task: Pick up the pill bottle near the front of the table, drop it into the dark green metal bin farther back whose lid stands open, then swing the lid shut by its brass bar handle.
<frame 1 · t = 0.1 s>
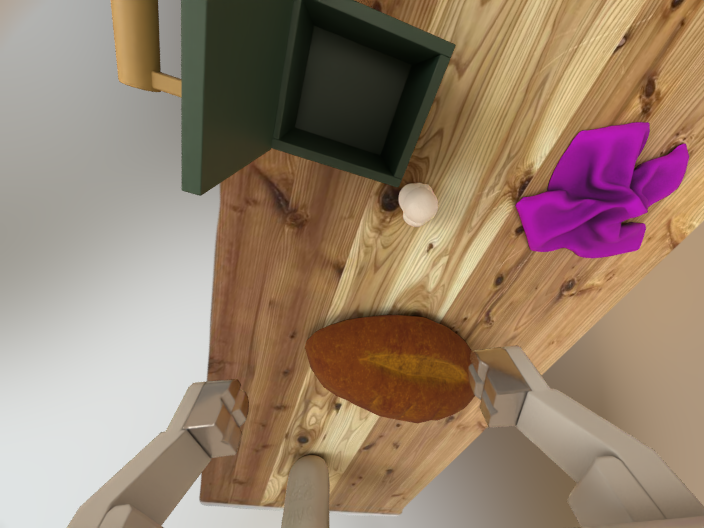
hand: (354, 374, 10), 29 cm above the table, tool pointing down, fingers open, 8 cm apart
microfossil shell: (413, 198, 36), on the table
glass bottle: (311, 456, 71), on the table
bin: (350, 97, 30), on the table
bread: (394, 349, 51), on the table
cloth: (600, 201, 37), on the table
bin lid: (204, 45, 14), point 17 cm above the table, hinge at 92.0°
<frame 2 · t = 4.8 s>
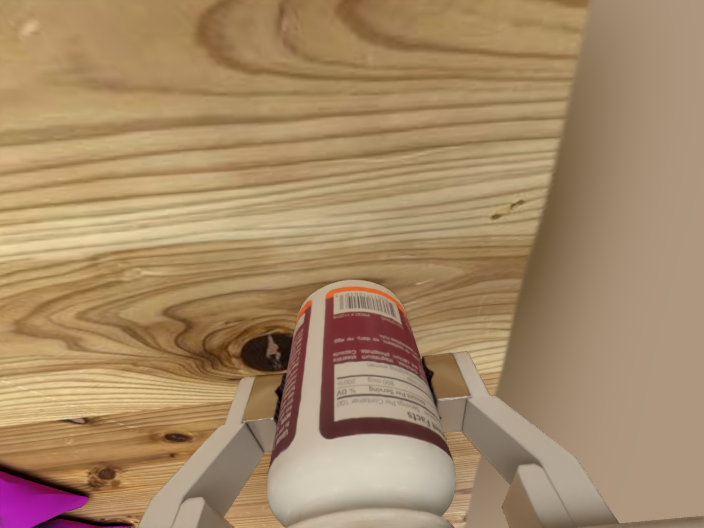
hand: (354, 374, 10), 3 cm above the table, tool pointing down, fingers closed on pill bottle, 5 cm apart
pill bottle: (352, 317, 12), on the table, touching gripper
when the fingers open (10 cm above the table, at t = 12.6 s): pill bottle drops 7 cm, resting on bin.
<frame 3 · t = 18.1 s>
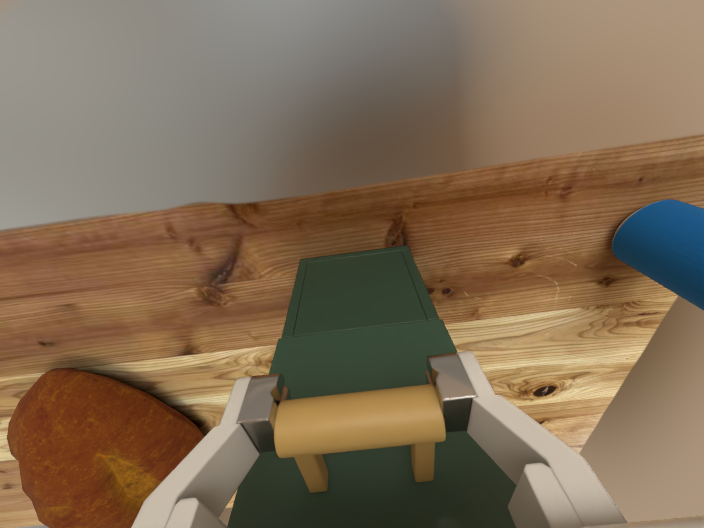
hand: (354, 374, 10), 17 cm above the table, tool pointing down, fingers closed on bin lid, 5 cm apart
bin: (360, 298, 30), on the table
bread: (141, 426, 42), on the table
beverage can: (639, 228, 27), on the table
bin lid: (361, 396, 12), point 17 cm above the table, hinge at 92.0°, touching gripper
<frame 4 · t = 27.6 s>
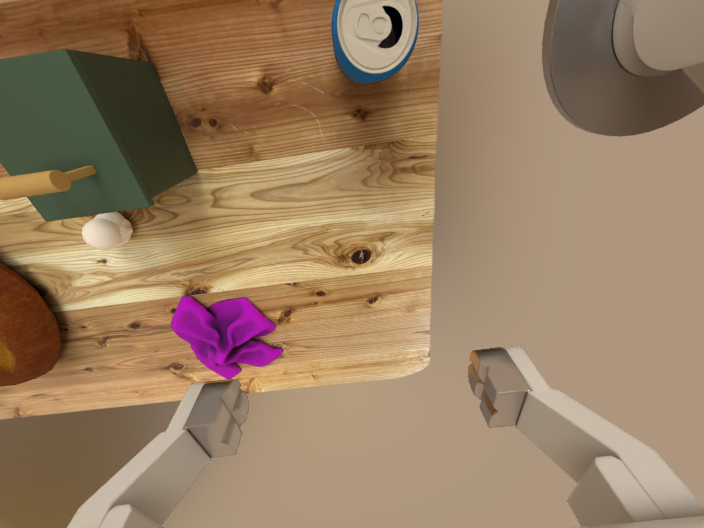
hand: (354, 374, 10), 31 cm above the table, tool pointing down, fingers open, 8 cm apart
microfossil shell: (121, 224, 39), on the table
bin: (134, 129, 33), on the table
beverage can: (364, 48, 30), on the table
cloth: (230, 339, 52), on the table
bin lid: (33, 151, 22), point 13 cm above the table, hinge at -0.2°, touching bin
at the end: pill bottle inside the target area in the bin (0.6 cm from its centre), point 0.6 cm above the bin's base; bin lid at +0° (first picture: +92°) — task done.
